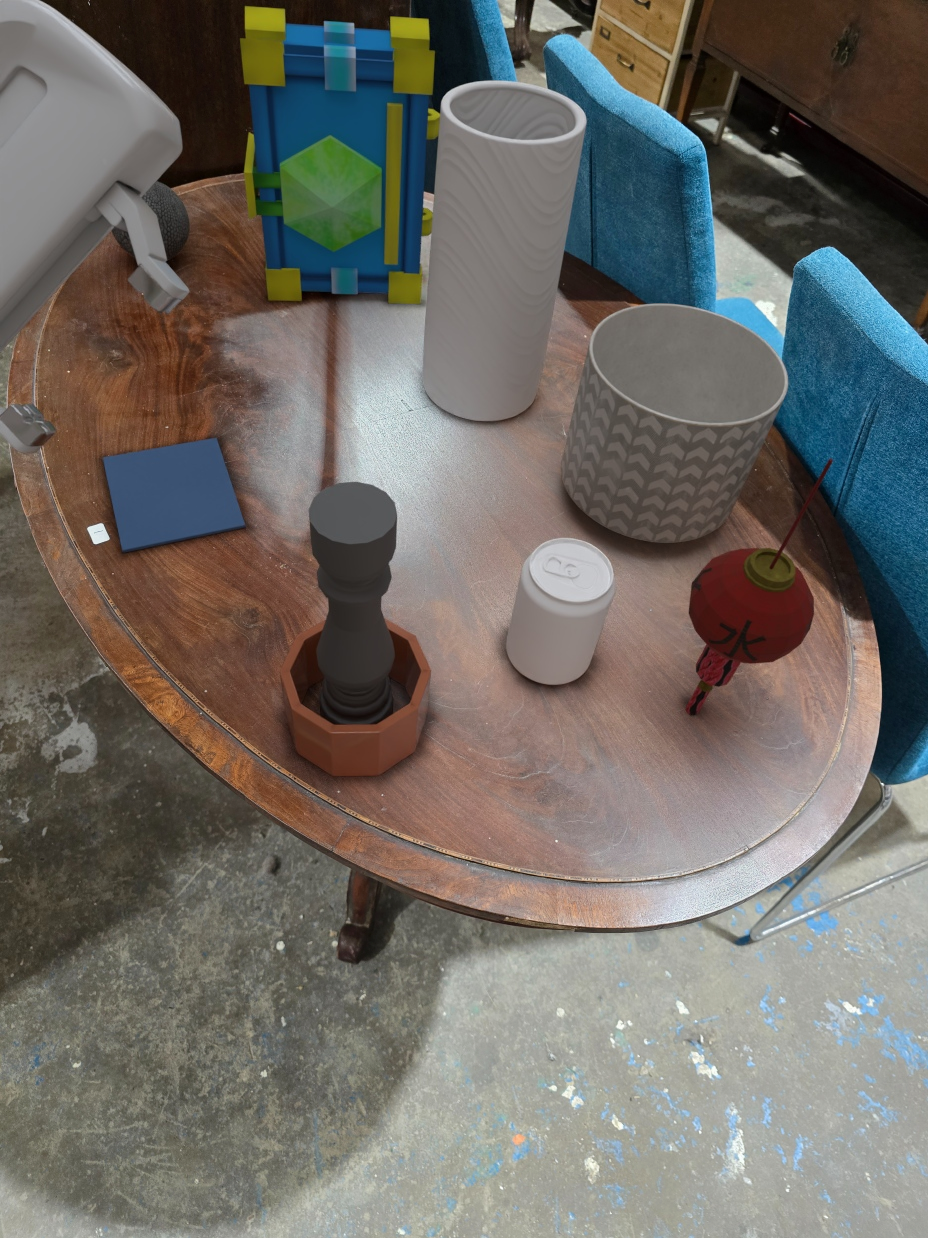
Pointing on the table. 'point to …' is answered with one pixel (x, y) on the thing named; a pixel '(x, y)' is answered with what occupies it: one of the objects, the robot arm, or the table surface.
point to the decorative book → (339, 153)
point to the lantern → (748, 610)
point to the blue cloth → (171, 494)
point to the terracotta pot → (355, 744)
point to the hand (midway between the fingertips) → (105, 374)
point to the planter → (669, 420)
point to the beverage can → (559, 610)
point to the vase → (497, 243)
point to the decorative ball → (162, 220)
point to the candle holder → (354, 600)
